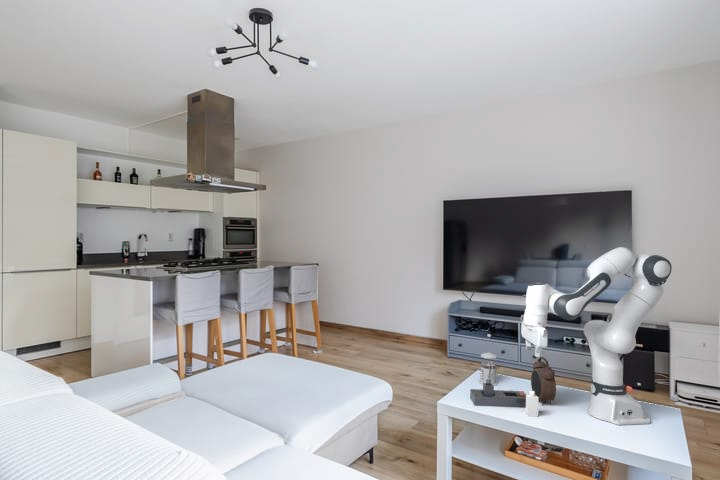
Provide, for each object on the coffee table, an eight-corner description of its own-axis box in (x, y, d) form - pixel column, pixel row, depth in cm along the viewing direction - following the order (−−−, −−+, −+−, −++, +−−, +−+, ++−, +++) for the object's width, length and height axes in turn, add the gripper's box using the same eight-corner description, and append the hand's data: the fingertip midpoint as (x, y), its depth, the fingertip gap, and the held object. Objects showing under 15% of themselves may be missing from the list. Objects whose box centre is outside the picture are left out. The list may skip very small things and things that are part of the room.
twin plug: (491, 401, 186) (492, 379, 186) (493, 403, 183) (493, 381, 183) (482, 400, 186) (483, 378, 186) (484, 403, 183) (484, 381, 183)
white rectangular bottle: (535, 413, 173) (535, 390, 173) (538, 416, 170) (538, 392, 170) (525, 413, 173) (526, 389, 173) (528, 416, 170) (528, 392, 170)
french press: (496, 380, 214) (497, 332, 214) (500, 388, 203) (501, 337, 203) (476, 379, 216) (477, 331, 216) (480, 386, 204) (481, 336, 204)
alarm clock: (528, 395, 193) (528, 353, 193) (543, 396, 193) (544, 353, 193) (540, 408, 179) (541, 362, 179) (557, 408, 178) (558, 363, 178)
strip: (523, 400, 188) (523, 390, 188) (530, 407, 179) (530, 397, 179) (470, 397, 189) (470, 387, 189) (474, 405, 180) (474, 395, 180)
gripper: (553, 326, 161) (550, 361, 161) (534, 316, 182) (531, 347, 182) (536, 324, 162) (534, 359, 162) (519, 315, 182) (517, 346, 182)
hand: (532, 353), depth 172 cm, fingers open, 8 cm apart
